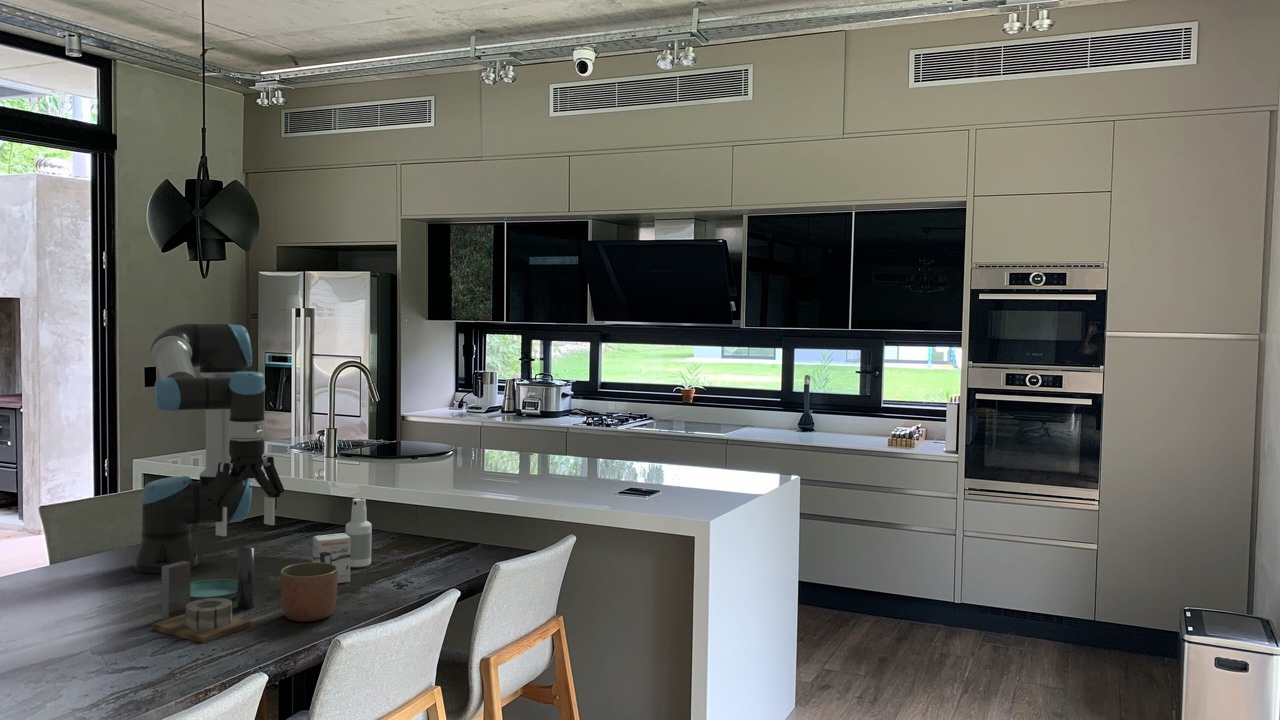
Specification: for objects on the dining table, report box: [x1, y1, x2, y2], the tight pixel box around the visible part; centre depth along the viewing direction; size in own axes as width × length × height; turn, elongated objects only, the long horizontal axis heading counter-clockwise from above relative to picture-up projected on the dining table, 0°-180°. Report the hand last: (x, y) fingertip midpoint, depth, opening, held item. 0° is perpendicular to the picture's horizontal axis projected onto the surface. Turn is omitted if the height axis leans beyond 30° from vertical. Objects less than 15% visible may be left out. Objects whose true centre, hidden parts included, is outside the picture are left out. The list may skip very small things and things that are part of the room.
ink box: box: [312, 532, 351, 584], centre depth 246 cm, size 8×5×12 cm, turn 123°
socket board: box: [151, 598, 251, 644], centre depth 208 cm, size 16×12×5 cm
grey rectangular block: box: [160, 561, 192, 621], centre depth 215 cm, size 6×2×12 cm, turn 153°
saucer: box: [190, 578, 237, 602], centre depth 230 cm, size 15×15×3 cm
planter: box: [280, 561, 338, 623], centre depth 218 cm, size 12×12×11 cm
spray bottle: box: [345, 497, 373, 568], centre depth 263 cm, size 7×7×18 cm
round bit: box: [236, 545, 255, 611], centre depth 223 cm, size 4×4×14 cm
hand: (245, 529), depth 222 cm, fingers open, 13 cm apart
